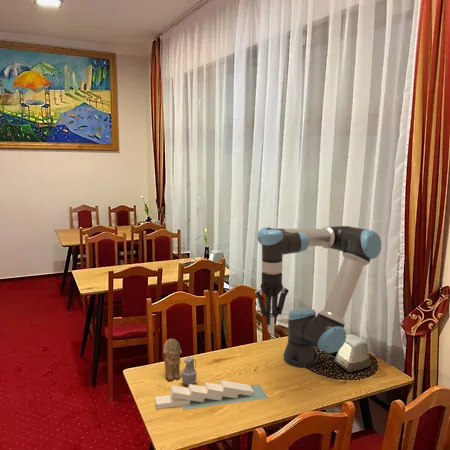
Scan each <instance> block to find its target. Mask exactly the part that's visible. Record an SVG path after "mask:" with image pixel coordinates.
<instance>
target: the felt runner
mask: <svg viewBox="0 0 450 450" xmlns="http://www.w3.org/2000/svg"><path fill="white" fill-rule="evenodd" d="M250 387H251V388H252V390H253V391H254V393H253V396H248V395H242V394H238V397H237V398H231V397H225V396H222V399H221V401H220V400H213V399H207V398H204V401H203V402H198V401H192V400H190V405H184V406H181V407H182V410H183V411H184V410H185V411H186V410H191V409H199V408H206V407H213V406H222V405H227V404H235V403H243V402H249V401H259V400H264V399H269V397H268V395H267V393H266V392H265V391H264V389H263V387H262V386H261V384H254V385H253V384H252V385H250Z"/></svg>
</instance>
